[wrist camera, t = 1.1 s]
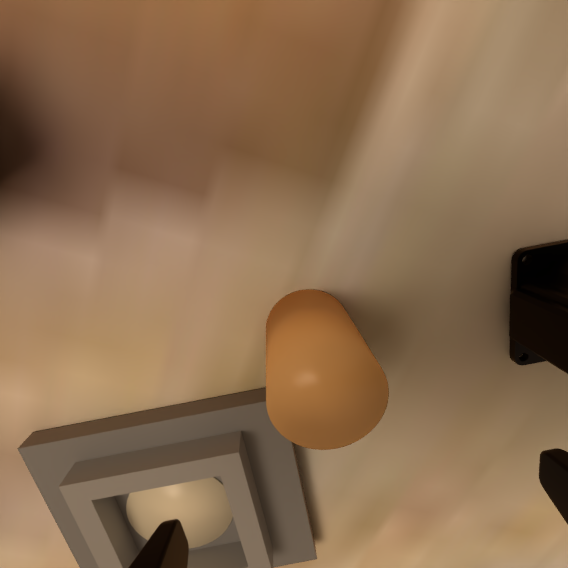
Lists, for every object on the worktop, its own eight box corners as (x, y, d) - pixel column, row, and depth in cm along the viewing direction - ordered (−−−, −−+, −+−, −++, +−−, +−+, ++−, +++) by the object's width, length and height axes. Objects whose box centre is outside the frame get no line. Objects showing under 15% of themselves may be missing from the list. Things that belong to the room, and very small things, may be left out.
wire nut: (343, 281, 17) (382, 332, 11) (353, 357, 18) (393, 437, 13) (258, 298, 17) (254, 356, 11) (274, 372, 18) (278, 459, 13)
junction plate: (280, 384, 18) (283, 417, 16) (314, 539, 22) (320, 586, 19) (32, 432, 19) (-5, 472, 16) (106, 578, 22) (84, 631, 19)
